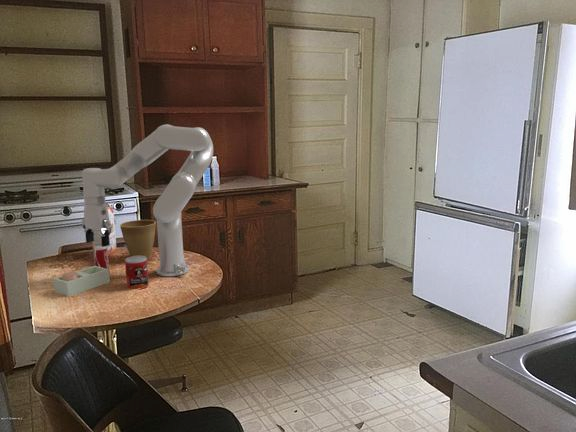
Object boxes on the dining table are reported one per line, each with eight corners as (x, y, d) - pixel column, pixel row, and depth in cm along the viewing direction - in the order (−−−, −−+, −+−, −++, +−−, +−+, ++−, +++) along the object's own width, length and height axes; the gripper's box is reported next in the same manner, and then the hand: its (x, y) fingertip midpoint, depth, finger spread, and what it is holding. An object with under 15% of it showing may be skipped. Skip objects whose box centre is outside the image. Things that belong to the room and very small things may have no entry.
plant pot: (165, 255, 224) (162, 220, 220) (143, 265, 210) (140, 228, 207) (138, 252, 230) (135, 218, 226) (115, 261, 216) (112, 225, 213)
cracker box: (106, 258, 220) (102, 212, 216) (93, 259, 220) (88, 212, 216) (117, 250, 234) (113, 206, 230) (105, 250, 234) (100, 206, 230)
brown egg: (82, 289, 180) (80, 273, 179) (69, 294, 176) (67, 277, 175) (73, 287, 183) (72, 271, 182) (60, 291, 179) (58, 275, 178)
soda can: (105, 278, 194) (102, 248, 192) (93, 277, 195) (90, 248, 193) (112, 274, 199) (109, 245, 197) (100, 273, 200) (97, 244, 198)
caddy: (110, 284, 188) (108, 269, 187) (68, 298, 174) (66, 282, 173) (96, 280, 193) (94, 265, 192) (54, 293, 179) (52, 278, 178)
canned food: (129, 292, 179) (126, 262, 177) (125, 285, 186) (122, 257, 184) (151, 288, 183) (148, 259, 180) (146, 281, 190) (144, 254, 187)
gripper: (117, 201, 189) (120, 245, 193) (89, 197, 199) (92, 238, 202) (100, 204, 183) (103, 249, 187) (72, 199, 192) (75, 242, 196)
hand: (97, 243), depth 194 cm, fingers open, 9 cm apart
